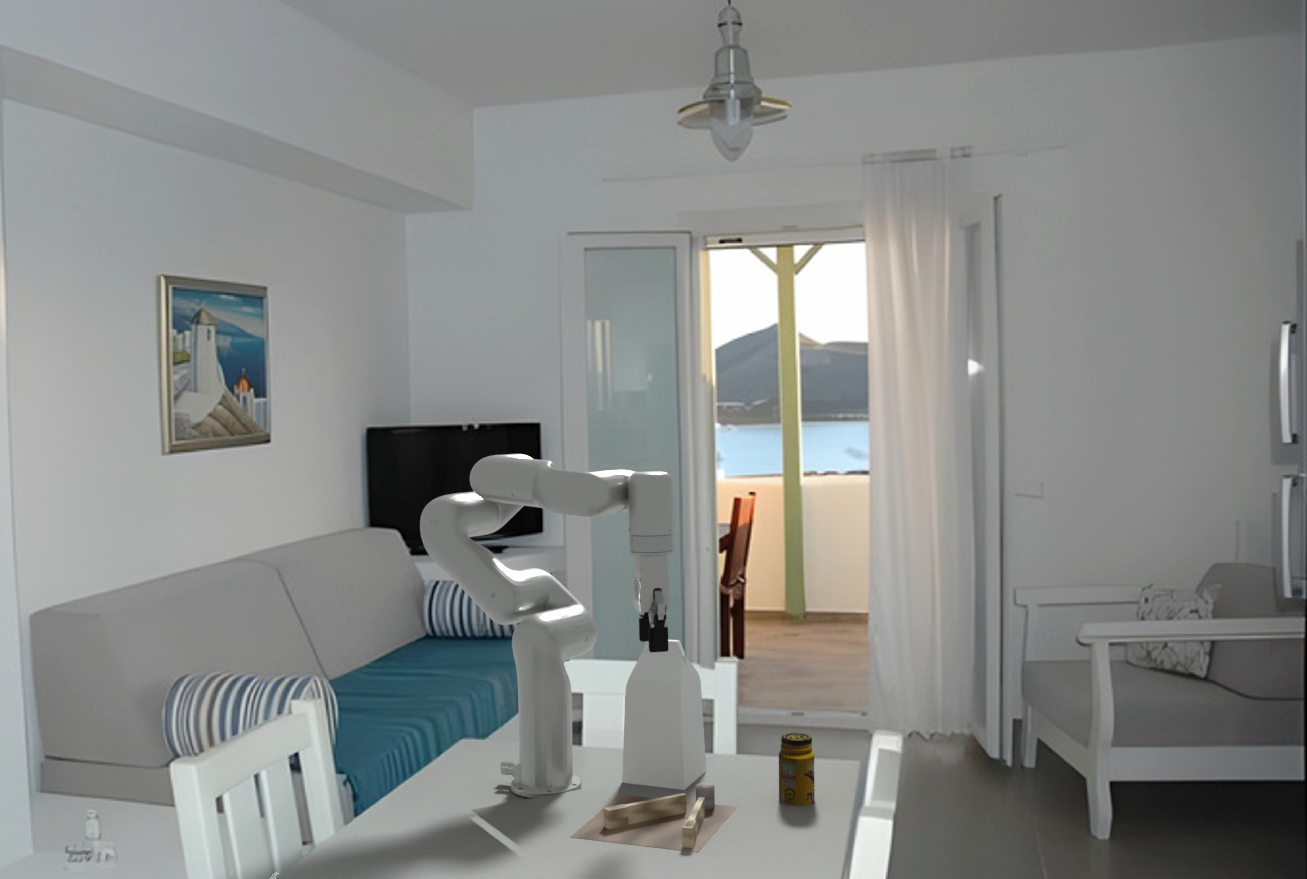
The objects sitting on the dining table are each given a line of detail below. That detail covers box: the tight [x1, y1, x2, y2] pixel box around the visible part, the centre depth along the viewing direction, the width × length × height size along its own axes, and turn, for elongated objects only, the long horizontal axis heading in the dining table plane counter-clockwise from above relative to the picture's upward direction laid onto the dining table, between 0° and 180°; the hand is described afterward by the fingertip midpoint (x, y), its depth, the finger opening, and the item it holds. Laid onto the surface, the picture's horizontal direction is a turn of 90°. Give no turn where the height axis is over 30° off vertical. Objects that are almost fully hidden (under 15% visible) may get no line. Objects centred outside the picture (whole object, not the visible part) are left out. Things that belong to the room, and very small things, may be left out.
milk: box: [621, 639, 707, 791], centre depth 224 cm, size 12×12×26 cm
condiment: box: [778, 732, 815, 807], centre depth 211 cm, size 7×8×12 cm
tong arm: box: [603, 792, 687, 829], centre depth 202 cm, size 15×2×3 cm, turn 120°
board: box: [569, 794, 738, 854], centre depth 201 cm, size 21×22×1 cm
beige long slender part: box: [682, 782, 716, 848], centre depth 199 cm, size 20×3×4 cm, turn 169°
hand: (653, 646), depth 209 cm, fingers open, 9 cm apart
